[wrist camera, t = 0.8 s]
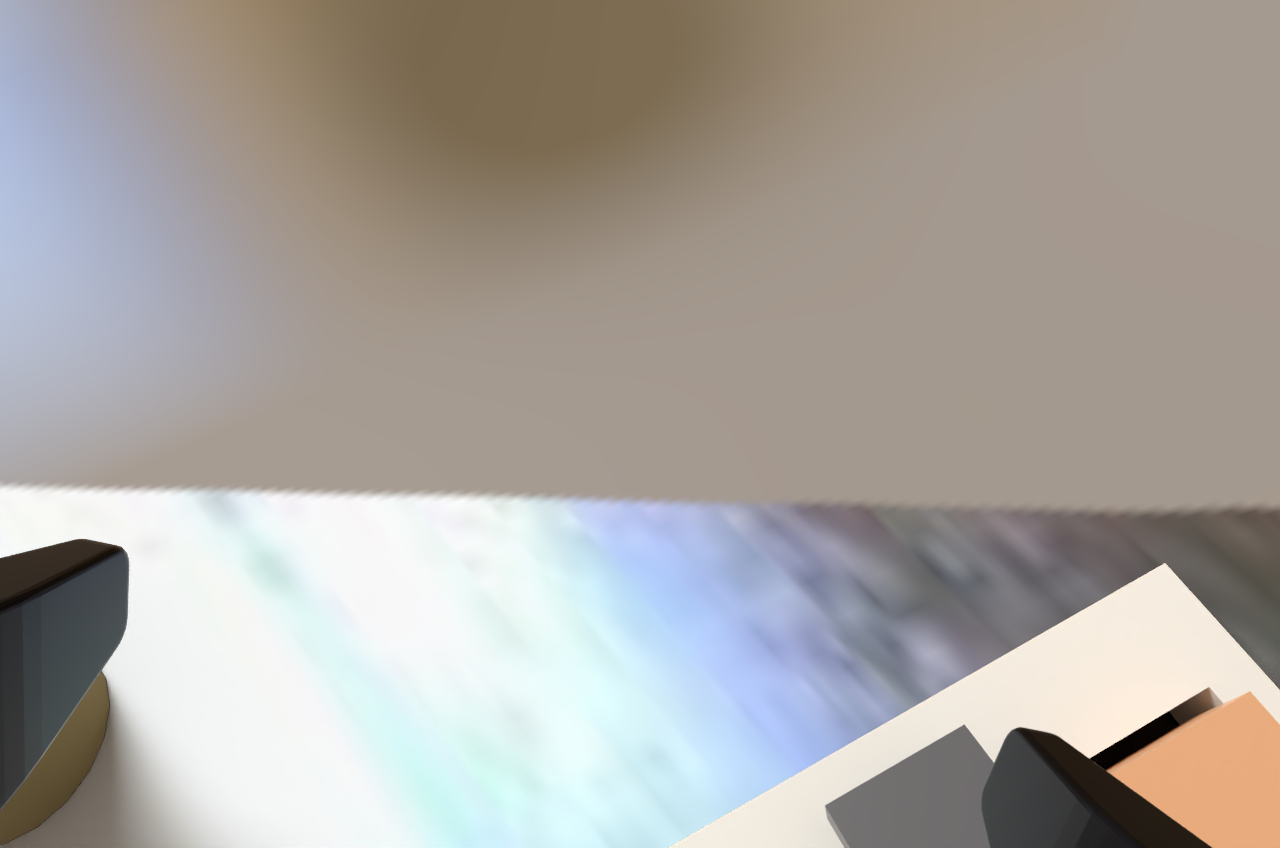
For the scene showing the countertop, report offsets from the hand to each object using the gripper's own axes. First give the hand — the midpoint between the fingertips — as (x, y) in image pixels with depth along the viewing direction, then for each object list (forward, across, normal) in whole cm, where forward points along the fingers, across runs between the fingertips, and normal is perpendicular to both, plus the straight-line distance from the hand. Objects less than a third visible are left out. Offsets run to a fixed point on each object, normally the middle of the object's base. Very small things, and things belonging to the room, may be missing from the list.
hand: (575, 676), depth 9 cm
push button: (+8, -15, +7) cm, 19 cm away
